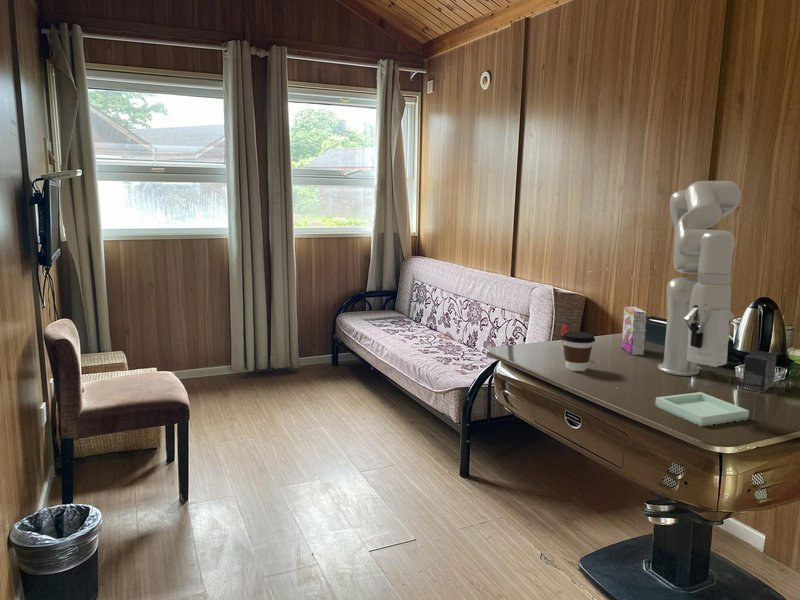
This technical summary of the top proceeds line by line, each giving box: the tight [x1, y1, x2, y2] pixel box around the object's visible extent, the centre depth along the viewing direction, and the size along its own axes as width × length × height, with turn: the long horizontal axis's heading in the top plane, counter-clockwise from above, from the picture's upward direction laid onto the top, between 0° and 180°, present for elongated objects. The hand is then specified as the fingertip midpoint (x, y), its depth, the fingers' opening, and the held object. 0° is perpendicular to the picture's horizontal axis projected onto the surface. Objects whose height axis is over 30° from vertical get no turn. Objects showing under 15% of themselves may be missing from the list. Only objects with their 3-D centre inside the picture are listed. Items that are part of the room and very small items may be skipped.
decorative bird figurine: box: [560, 323, 571, 345], centre depth 223 cm, size 3×18×10 cm, turn 8°
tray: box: [654, 391, 750, 427], centre depth 163 cm, size 16×16×2 cm
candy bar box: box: [621, 306, 648, 356], centre depth 226 cm, size 11×5×16 cm, turn 179°
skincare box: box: [687, 309, 731, 368], centre depth 159 cm, size 8×6×15 cm
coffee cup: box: [561, 331, 596, 372], centre depth 202 cm, size 11×11×12 cm
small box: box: [741, 350, 778, 391], centre depth 185 cm, size 11×6×10 cm, turn 135°
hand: (706, 345), depth 160 cm, fingers closed on skincare box, 6 cm apart
